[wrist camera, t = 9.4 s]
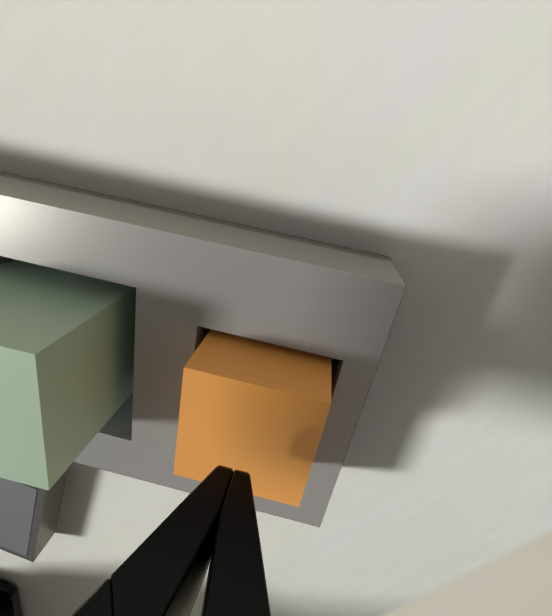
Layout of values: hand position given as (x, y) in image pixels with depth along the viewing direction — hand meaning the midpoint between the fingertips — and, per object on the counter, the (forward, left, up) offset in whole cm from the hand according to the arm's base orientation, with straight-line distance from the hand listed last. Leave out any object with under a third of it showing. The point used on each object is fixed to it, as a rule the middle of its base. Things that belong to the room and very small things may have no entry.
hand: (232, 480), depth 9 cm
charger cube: (0, +7, -6) cm, 9 cm away
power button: (0, 0, -4) cm, 4 cm away
